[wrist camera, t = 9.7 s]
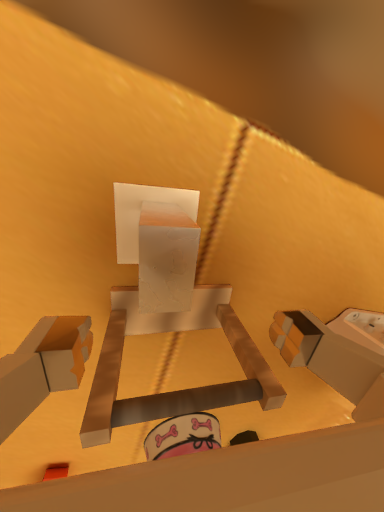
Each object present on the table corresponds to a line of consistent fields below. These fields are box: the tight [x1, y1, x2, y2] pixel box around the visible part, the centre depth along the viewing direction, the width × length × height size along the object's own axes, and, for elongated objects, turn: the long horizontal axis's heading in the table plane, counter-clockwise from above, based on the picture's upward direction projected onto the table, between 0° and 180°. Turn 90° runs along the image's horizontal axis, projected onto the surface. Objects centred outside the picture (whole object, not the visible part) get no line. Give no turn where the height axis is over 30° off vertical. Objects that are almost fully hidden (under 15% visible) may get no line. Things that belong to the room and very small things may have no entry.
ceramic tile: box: [114, 182, 200, 264], centre depth 24 cm, size 10×10×1 cm
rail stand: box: [80, 284, 287, 448], centre depth 23 cm, size 18×8×16 cm, turn 84°
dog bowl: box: [144, 412, 222, 462], centre depth 43 cm, size 18×19×7 cm
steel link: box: [139, 201, 201, 314], centre depth 19 cm, size 4×7×12 cm, turn 174°
